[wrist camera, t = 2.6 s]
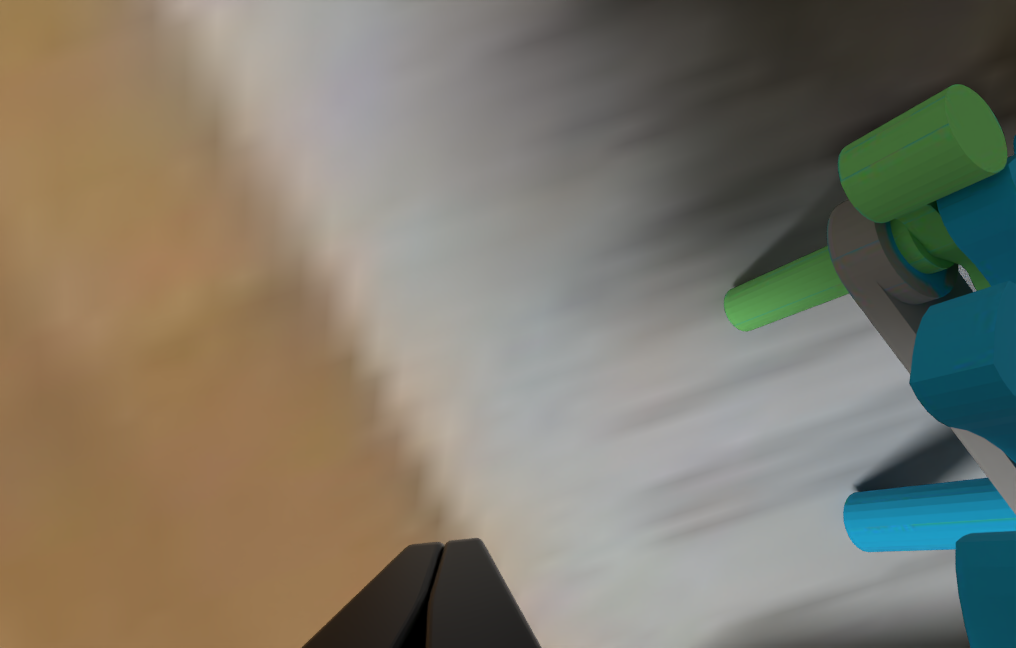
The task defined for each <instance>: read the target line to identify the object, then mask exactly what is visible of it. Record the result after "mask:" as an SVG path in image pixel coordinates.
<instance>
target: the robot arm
mask: <svg viewBox="0 0 1016 648" xmlns="http://www.w3.org/2000/svg"><path fill="white" fill-rule="evenodd" d="M302 648H541V646H540V644H539V642H538V641H537V639H536V637H535V635H534V633H533V632H532V630H531V628H530V626H529V624H528V623H527V621H526V619H525V617H524V615H523V613H522V612H521V610H520V608H519V606H518V604H517V603H516V601H515V599H514V597H513V595H512V594H511V592H510V590H509V588H508V586H507V585H506V583H505V581H504V579H503V577H502V575H501V574H500V572H499V570H498V568H497V566H496V565H495V563H494V561H493V559H492V557H491V556H490V554H489V552H488V550H487V548H486V547H485V545H484V543H483V541H482V540H481V539H479V538H471V539H462V540H452V541H448V542H447V543H446V544H445V546H444V545H443V543H441V542H432V543H422V544H412V545H409V546H408V547H406V548H405V549H404V550H403V551H402V552H401V553H400V554H399V555H398V556H397V557H395V558H394V559H393V560H392V561H391V562H390V563H389V564H388V565H387V566H386V567H385V568H384V569H383V570H382V571H381V572H380V573H379V574H378V575H377V576H376V577H375V578H374V579H373V580H372V581H370V582H369V583H368V584H367V585H366V586H365V587H364V588H363V589H362V590H361V591H360V592H359V593H358V594H357V595H356V596H355V597H354V598H353V599H352V600H351V601H350V602H349V603H348V604H347V605H345V606H344V607H343V608H342V609H341V610H340V611H339V612H338V613H337V614H336V615H335V616H334V617H333V618H332V619H331V620H330V621H329V622H328V623H327V624H326V625H325V626H324V627H323V628H322V629H320V630H319V631H318V632H317V633H316V634H315V635H314V636H313V637H312V638H311V639H310V640H309V641H308V642H307V643H306V644H305V645H304V646H303V647H302Z"/></svg>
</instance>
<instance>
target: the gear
mask: <svg viewBox="0 0 1016 648" xmlns="http://www.w3.org/2000/svg"><path fill="white" fill-rule="evenodd" d="M1013 145H1014V154H1015V155H1012V156H1010V157H1008V158H1007V146H1006V141H1005V137H1004V134H1003V132H1002V129H1001V126H1000V124H999V122H998V120H997V118H996V117H995V115H994V113H993V112H992V110H991V109H990V107H989V106H988V105H987V104H986V102H985V101H984V100H983V99H982V98H981V97H980V96H979V95H978V94H977V93H976V92H974V91H973V90H972V89H970V88H969V87H966V86H964V85H960V84H955V85H952V86H950V87H948V88H946V89H945V90H943V91H941V92H939V93H938V94H936V95H934V96H932V97H931V98H929V99H927V100H925V101H924V102H922V103H920V104H918V105H917V106H915V107H913V108H911V109H910V110H908V111H906V112H905V113H903V114H901V115H899V116H898V117H896V118H894V119H892V120H891V121H889V122H887V123H885V124H884V125H882V126H880V127H878V128H877V129H875V130H873V131H871V132H870V133H868V134H866V135H864V136H863V137H861V138H859V139H857V140H856V141H854V142H852V143H850V144H849V145H847V146H845V147H844V148H843V149H842V150H841V152H840V155H839V158H838V173H839V178H840V182H841V184H842V187H843V190H844V192H845V193H846V195H847V197H848V199H849V200H847V201H845V202H843V203H841V204H839V205H838V206H836V207H835V209H834V210H833V211H832V213H831V215H830V217H829V219H828V225H827V244H828V246H826V247H823V248H821V249H819V250H817V251H815V252H812V253H810V254H808V255H806V256H804V257H801V258H799V259H797V260H795V261H792V262H790V263H788V264H786V265H784V266H781V267H779V268H777V269H775V270H773V271H770V272H768V273H766V274H764V275H761V276H759V277H757V278H755V279H753V280H750V281H748V282H746V283H744V284H742V285H739V286H737V287H735V288H733V289H731V290H729V291H728V292H727V294H726V295H725V298H724V308H725V312H726V315H727V317H728V319H729V321H730V322H731V323H732V324H733V326H735V327H736V328H737V329H739V330H741V331H750V330H753V329H756V328H758V327H761V326H764V325H766V324H769V323H772V322H774V321H777V320H780V319H782V318H785V317H788V316H790V315H793V314H796V313H798V312H801V311H804V310H806V309H809V308H812V307H814V306H817V305H820V304H822V303H825V302H828V301H830V300H833V299H836V298H838V297H841V296H844V295H846V294H849V293H850V295H851V296H852V297H853V299H854V300H855V301H856V303H857V304H858V305H859V307H860V308H861V309H862V311H863V312H864V313H865V315H866V316H867V317H868V319H869V320H870V321H871V323H872V324H873V325H874V327H875V328H876V329H877V331H878V332H879V333H880V335H881V336H882V337H883V339H884V340H885V341H886V343H887V344H888V345H889V347H890V348H891V349H892V351H893V352H894V353H895V355H896V356H897V357H898V359H899V360H900V361H901V363H902V364H903V365H904V367H905V368H906V369H907V371H908V372H909V373H910V383H909V384H910V386H911V387H912V389H913V391H914V393H915V395H916V397H917V399H918V400H919V401H920V402H921V404H922V405H923V406H924V408H925V409H926V410H927V412H929V413H930V414H931V415H932V416H933V417H934V418H935V419H936V420H938V421H939V422H941V423H943V424H945V425H947V426H948V427H950V428H951V429H952V430H953V432H954V433H955V434H956V436H957V437H958V438H959V440H960V441H961V442H962V444H963V445H964V446H965V448H966V449H967V450H968V452H969V453H970V454H971V456H972V457H973V458H974V460H975V461H976V462H977V464H978V465H979V466H980V468H981V469H982V470H983V472H984V473H985V474H986V476H987V477H988V478H981V479H972V480H963V481H954V482H944V483H935V484H926V485H917V486H908V487H899V488H890V489H881V490H872V491H863V492H855V493H853V494H851V495H850V496H849V497H848V498H847V500H846V502H845V505H844V512H843V515H844V524H845V528H846V531H847V533H848V536H849V537H850V539H851V541H852V542H853V543H854V544H855V545H856V546H857V547H858V548H859V549H861V550H862V551H866V552H884V551H916V550H949V549H956V575H957V584H958V593H959V599H960V604H961V609H962V614H963V619H964V624H965V628H966V632H967V636H968V640H969V644H970V648H1016V135H1015V136H1014V142H1013ZM958 264H959V265H961V266H962V267H964V268H965V270H966V271H967V272H968V274H969V276H970V278H971V281H972V283H973V285H974V287H975V288H976V290H977V291H976V292H973V291H972V290H971V288H970V287H969V286H968V284H967V283H966V281H965V280H964V279H963V277H962V276H961V275H960V273H959V272H958Z"/></svg>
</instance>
